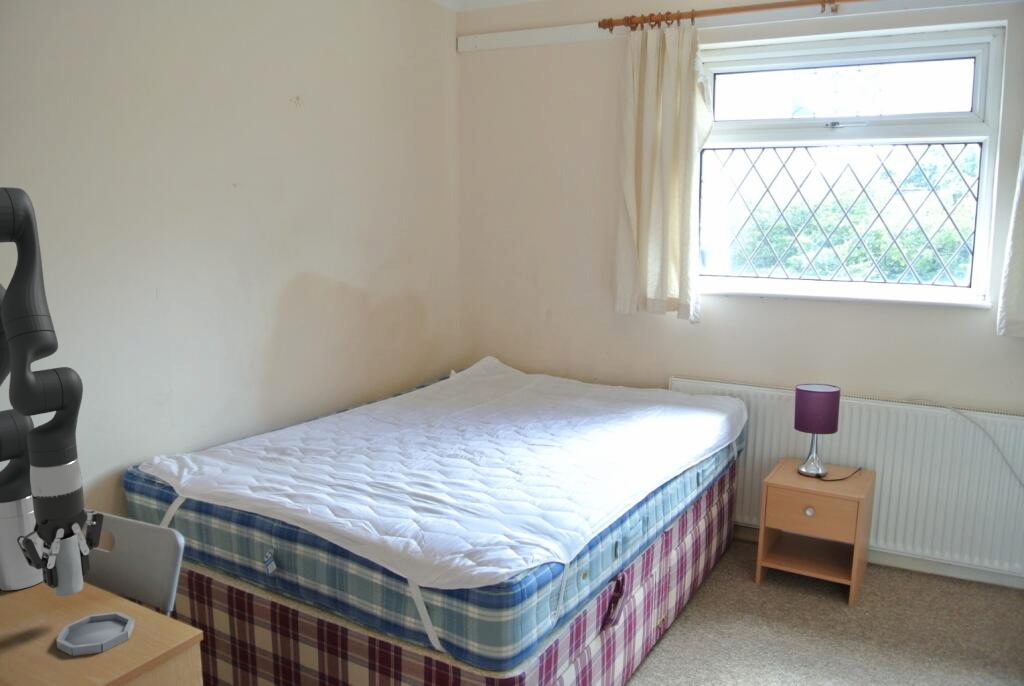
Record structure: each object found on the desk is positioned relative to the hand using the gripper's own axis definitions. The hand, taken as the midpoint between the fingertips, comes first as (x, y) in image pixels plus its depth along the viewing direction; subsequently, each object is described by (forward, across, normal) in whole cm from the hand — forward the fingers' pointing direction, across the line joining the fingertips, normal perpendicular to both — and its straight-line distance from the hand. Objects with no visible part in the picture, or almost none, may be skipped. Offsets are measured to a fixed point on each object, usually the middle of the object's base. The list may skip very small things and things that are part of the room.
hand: (67, 580), depth 142 cm
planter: (+2, 0, 0) cm, 2 cm away
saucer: (+7, +1, +9) cm, 12 cm away
